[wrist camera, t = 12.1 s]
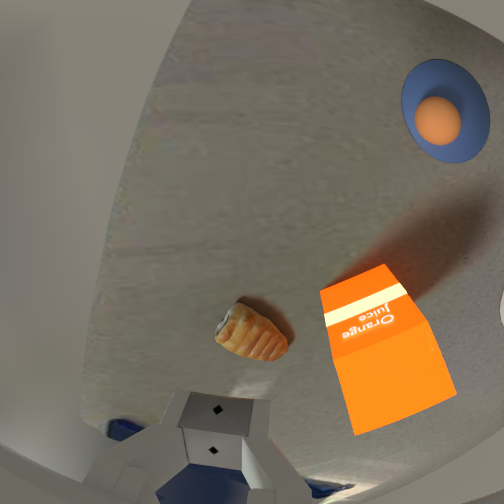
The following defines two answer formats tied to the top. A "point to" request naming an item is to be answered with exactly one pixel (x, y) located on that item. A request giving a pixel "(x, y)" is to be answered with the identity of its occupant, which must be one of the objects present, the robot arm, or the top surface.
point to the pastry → (250, 334)
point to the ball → (437, 120)
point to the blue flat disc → (460, 95)
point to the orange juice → (382, 350)
